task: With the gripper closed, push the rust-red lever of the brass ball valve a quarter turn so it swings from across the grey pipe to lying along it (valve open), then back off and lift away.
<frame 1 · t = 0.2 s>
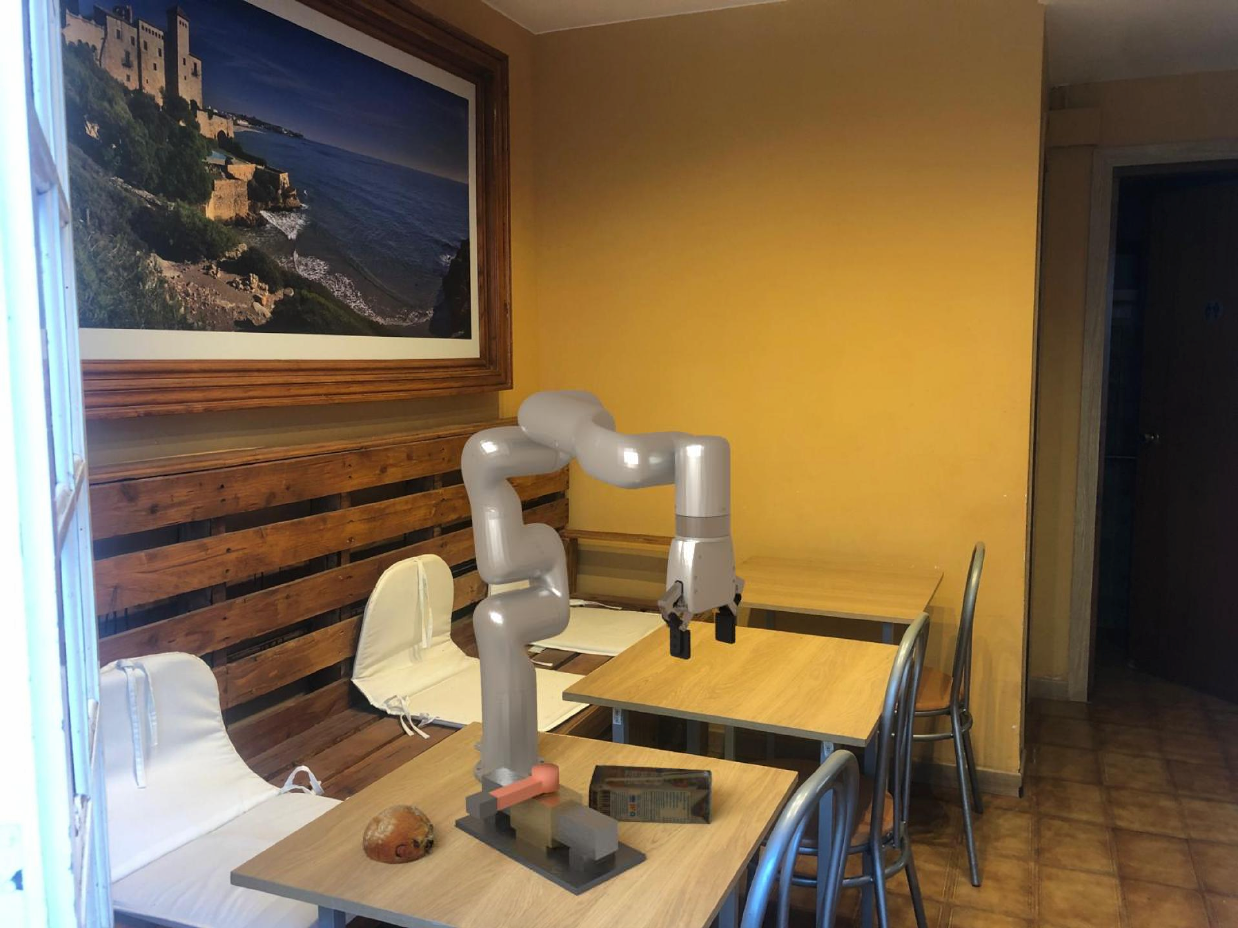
hand: (703, 649, 136), 31 cm above the table, tool pointing down, fingers open, 9 cm apart
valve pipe: (546, 842, 146), on the table
lever: (515, 789, 141), point 10 cm above the table, hinge at 0.0°
beverage carton: (651, 814, 155), on the table
bread roll: (401, 850, 145), on the table
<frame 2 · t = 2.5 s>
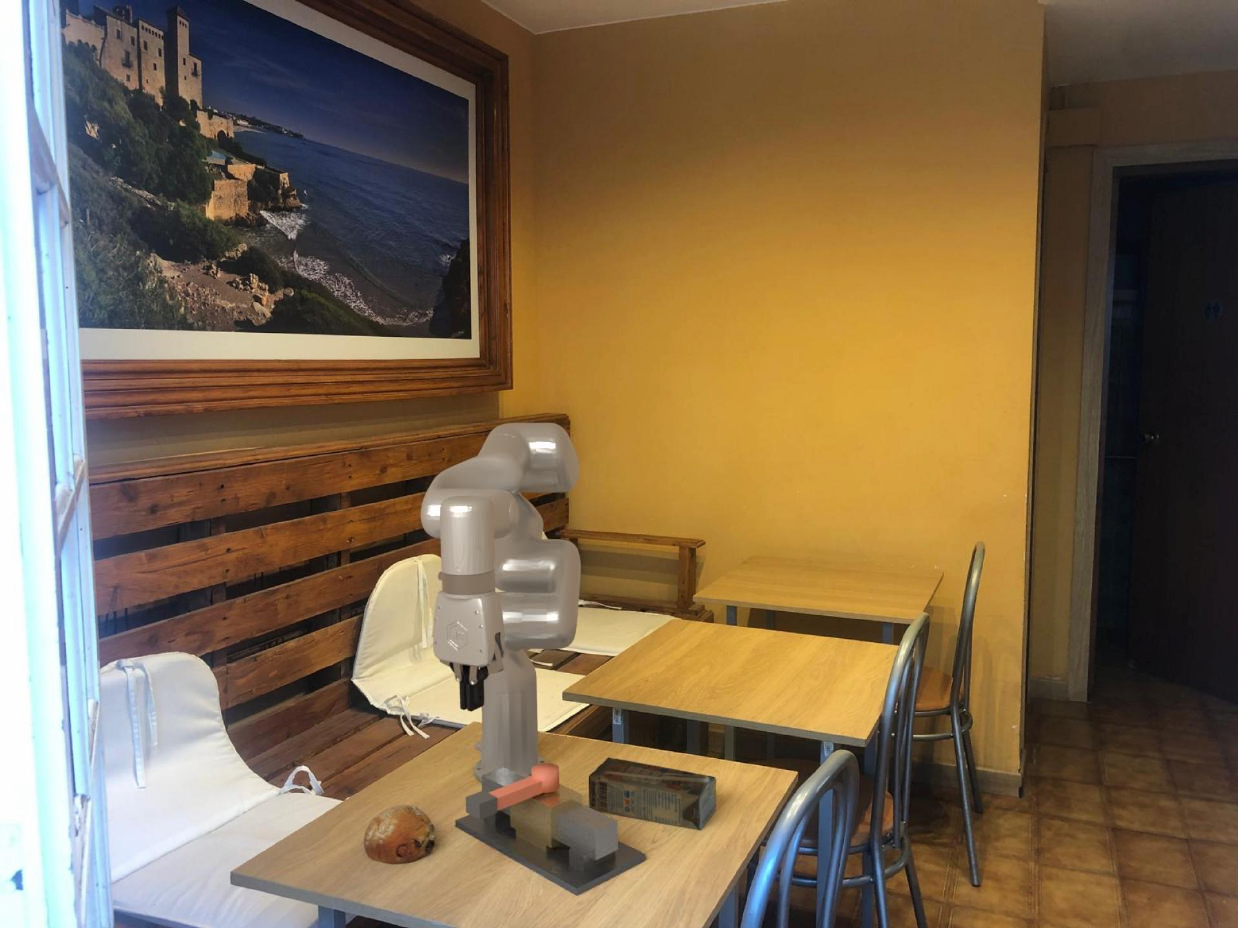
hand: (472, 707, 143), 21 cm above the table, tool pointing down, fingers closed
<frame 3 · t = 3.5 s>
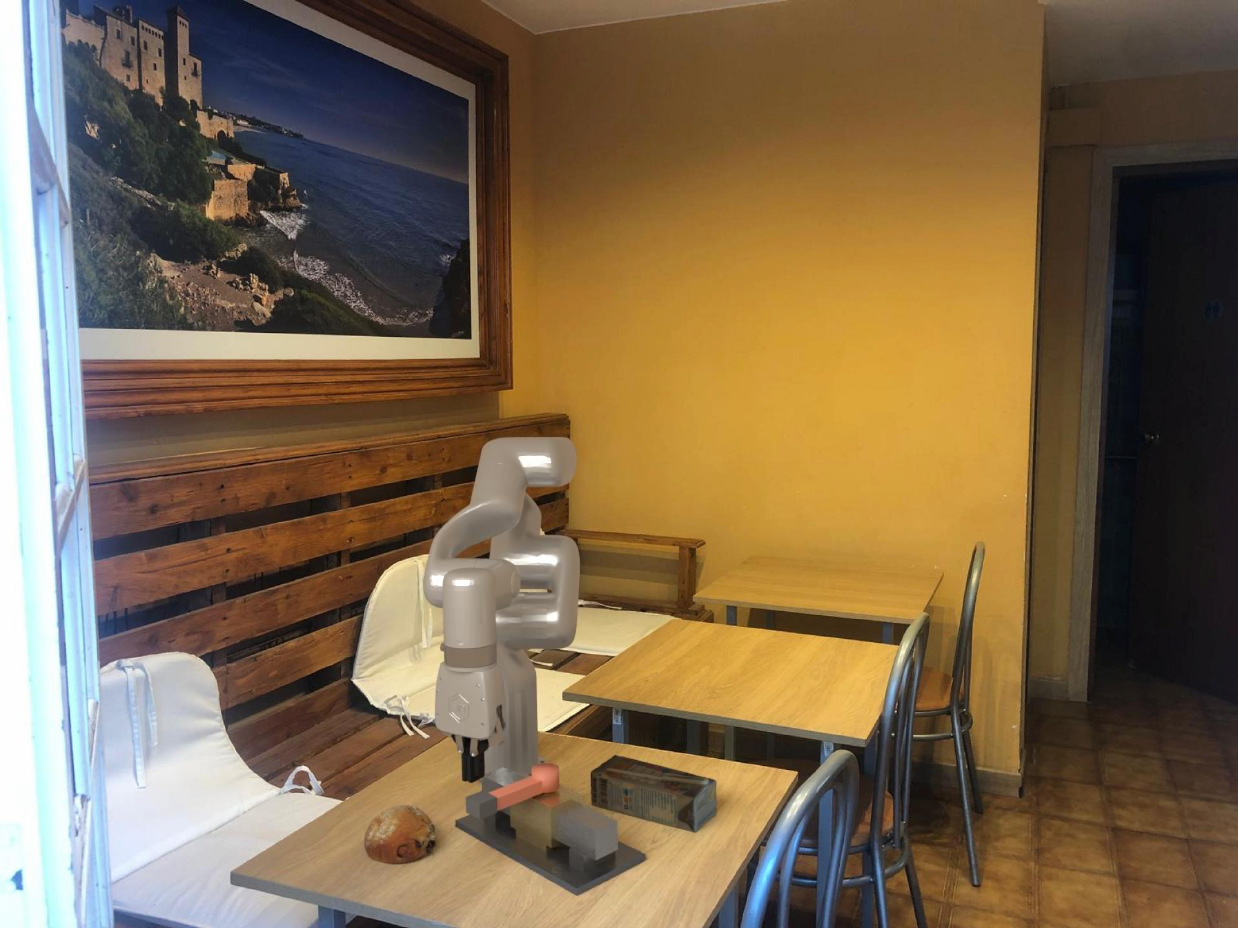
hand: (473, 778, 143), 11 cm above the table, tool pointing down, fingers closed
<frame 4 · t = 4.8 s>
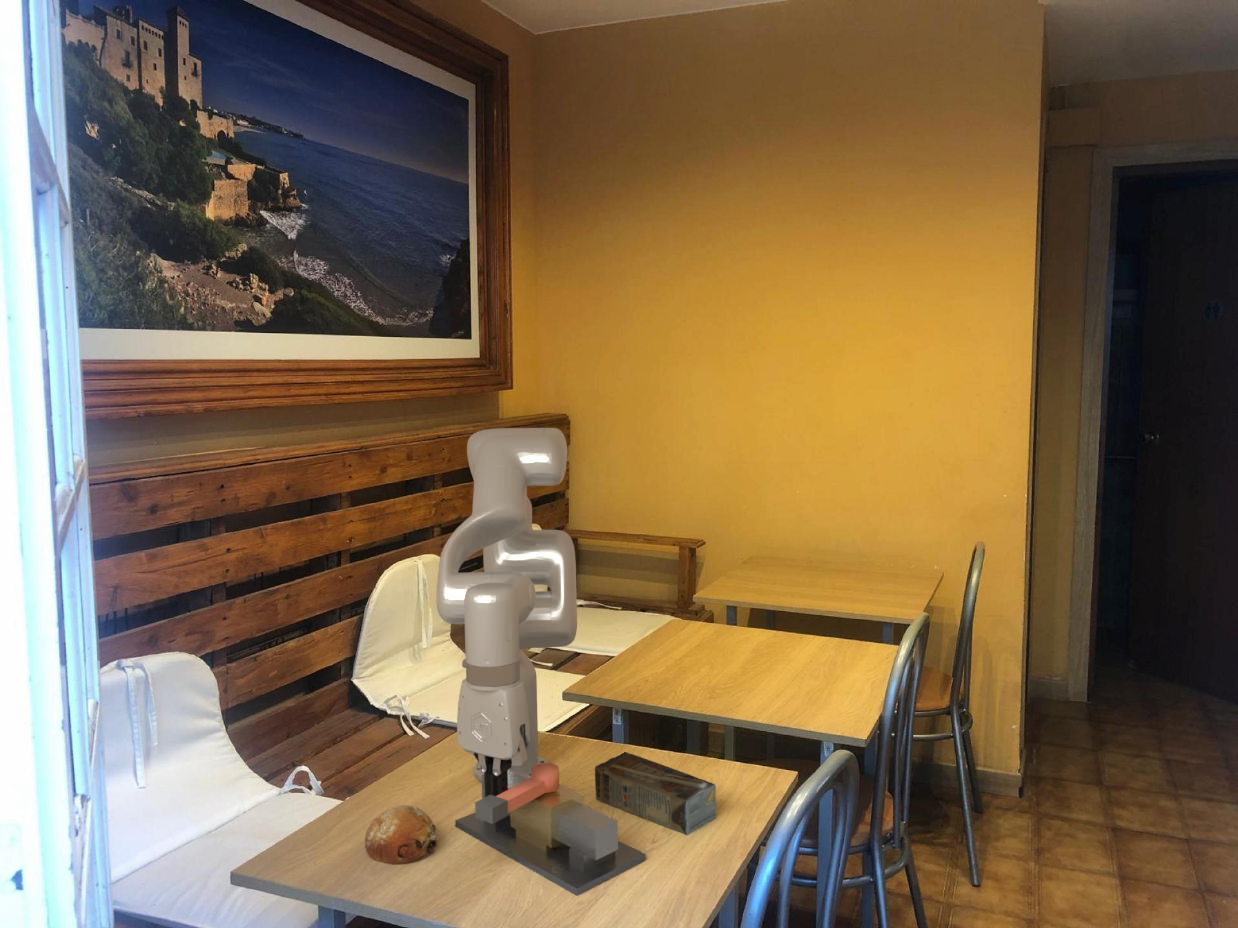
hand: (496, 797, 140), 9 cm above the table, tool pointing down, fingers closed
lever: (520, 791, 140), point 10 cm above the table, hinge at 10.5°, touching gripper
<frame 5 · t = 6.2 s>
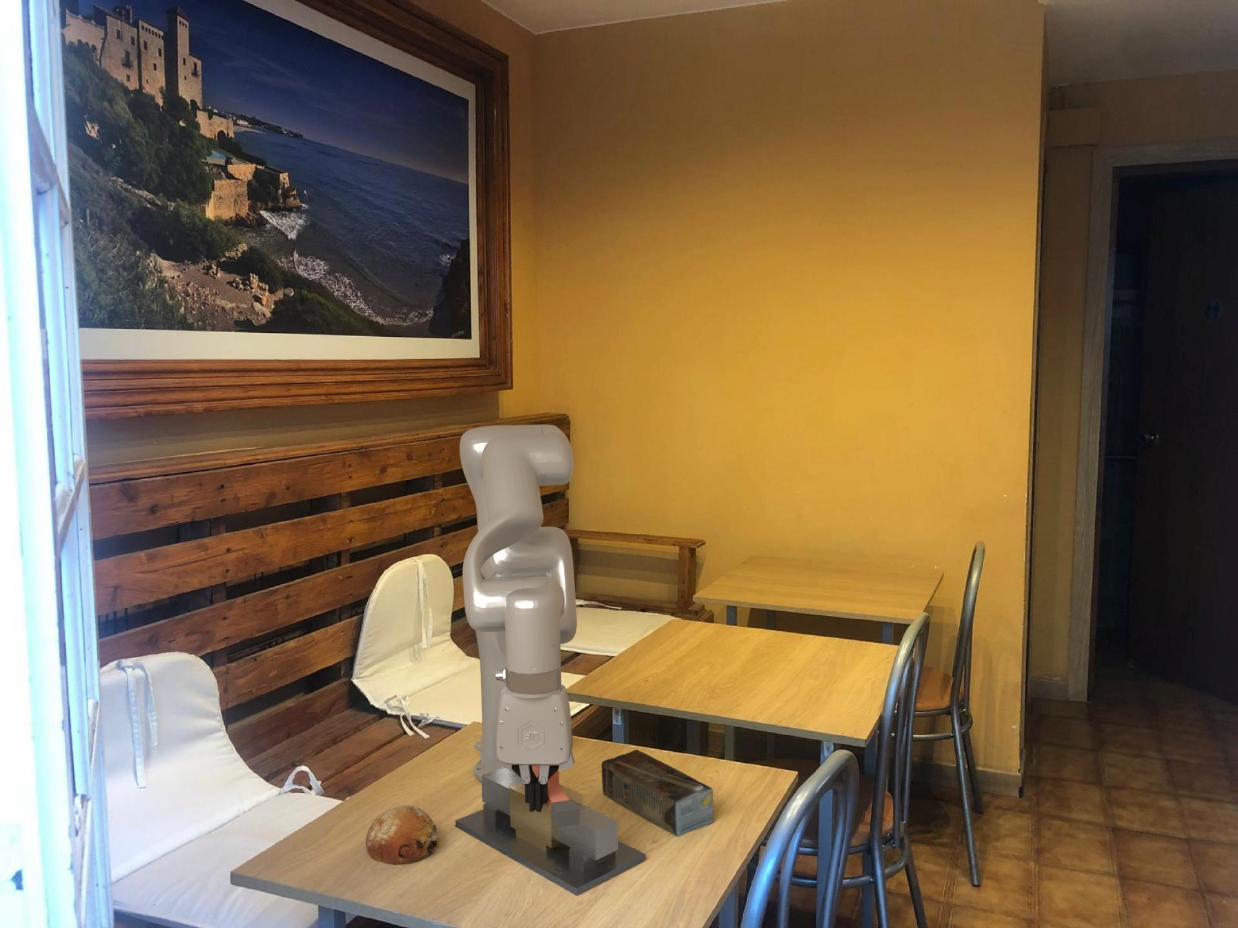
hand: (536, 807, 137), 9 cm above the table, tool pointing down, fingers closed
lever: (554, 792, 140), point 10 cm above the table, hinge at 63.8°, touching gripper
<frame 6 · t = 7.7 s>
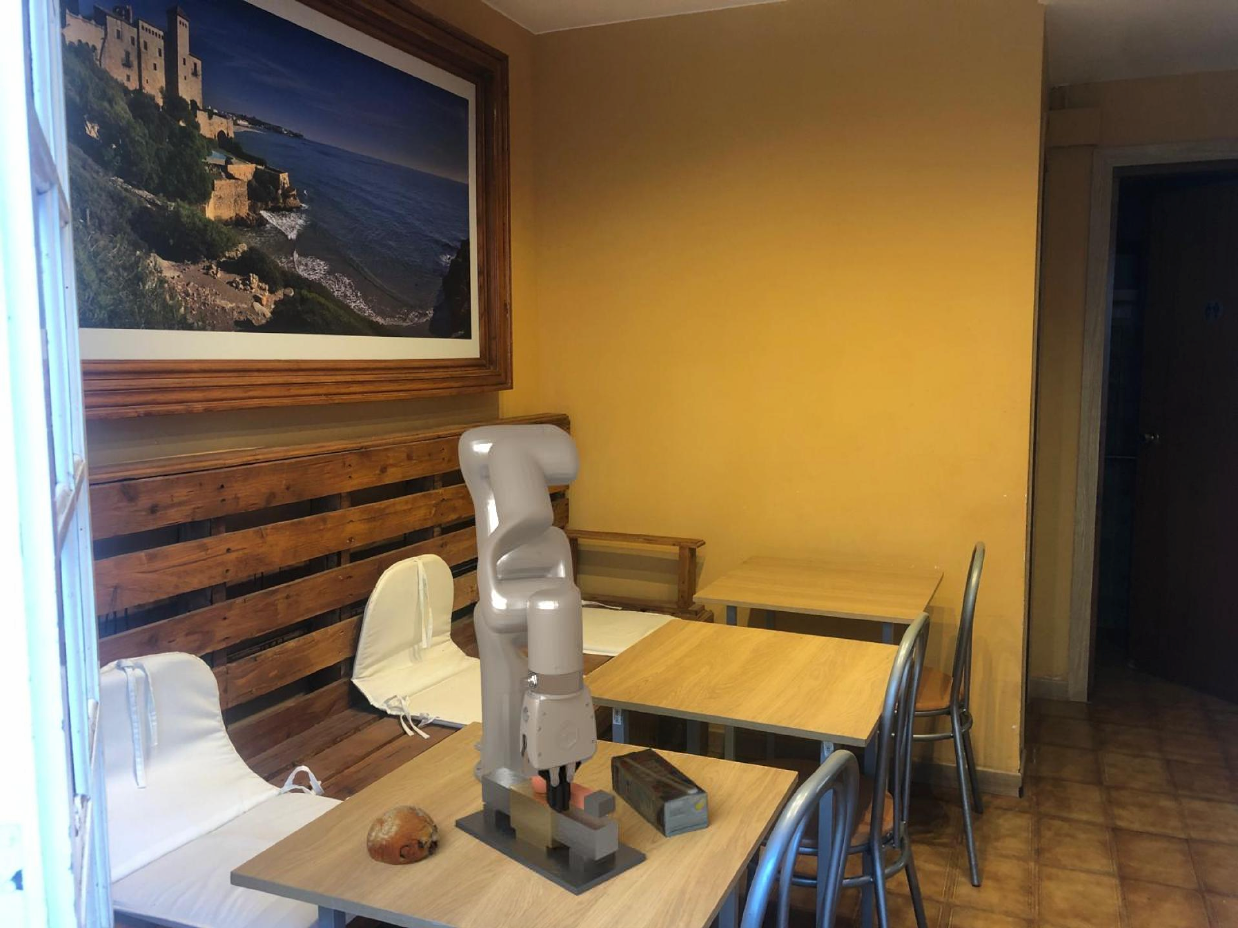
hand: (558, 807, 137), 9 cm above the table, tool pointing down, fingers closed
lever: (570, 788, 141), point 10 cm above the table, hinge at 90.8°
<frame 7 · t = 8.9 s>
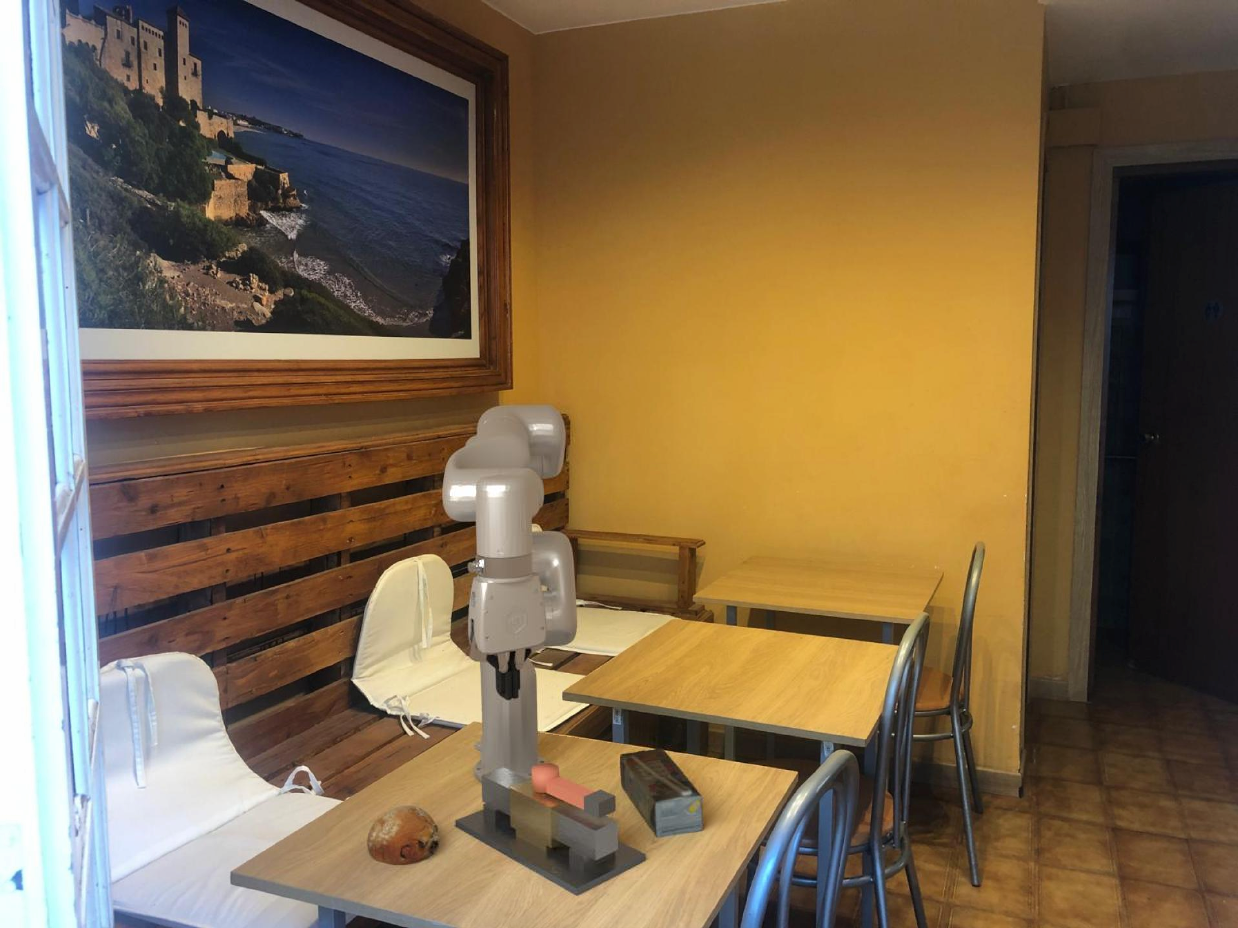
hand: (508, 696, 136), 25 cm above the table, tool pointing down, fingers closed
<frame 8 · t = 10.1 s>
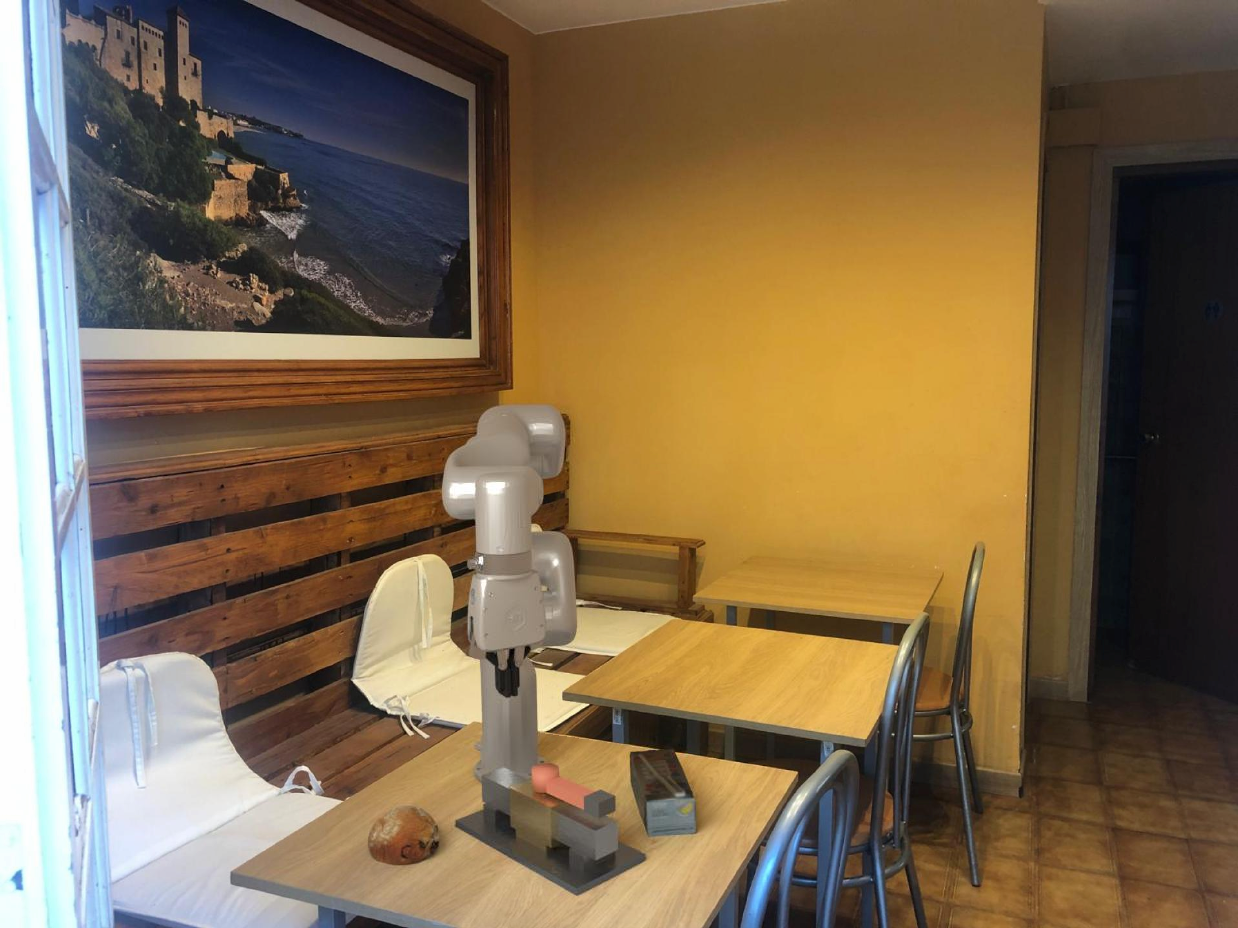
hand: (507, 693, 136), 25 cm above the table, tool pointing down, fingers closed
at the end: lever at +91° (first picture: +0°) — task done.
